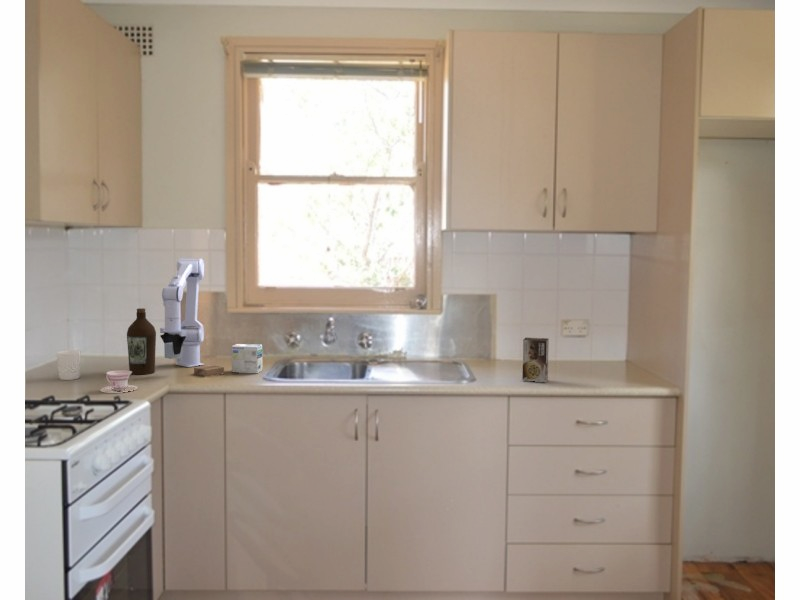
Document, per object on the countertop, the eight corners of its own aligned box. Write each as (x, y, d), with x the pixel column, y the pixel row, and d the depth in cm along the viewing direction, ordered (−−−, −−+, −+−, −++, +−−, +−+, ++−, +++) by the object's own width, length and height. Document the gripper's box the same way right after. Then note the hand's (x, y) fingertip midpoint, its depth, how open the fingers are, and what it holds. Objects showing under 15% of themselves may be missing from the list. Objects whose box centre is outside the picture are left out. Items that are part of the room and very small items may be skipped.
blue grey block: (164, 357, 267) (164, 343, 267) (175, 356, 271) (174, 342, 270) (171, 358, 264) (171, 344, 264) (181, 357, 268) (181, 343, 267)
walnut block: (194, 375, 272) (193, 367, 271) (211, 372, 278) (211, 364, 278) (206, 377, 267) (206, 370, 266) (223, 374, 273) (223, 367, 273)
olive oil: (135, 369, 279) (133, 307, 277) (161, 370, 278) (159, 307, 276) (122, 374, 268) (121, 309, 266) (149, 375, 268) (148, 310, 266)
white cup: (76, 375, 266) (75, 349, 265) (84, 378, 261) (83, 352, 260) (54, 378, 261) (53, 351, 260) (62, 381, 255) (61, 354, 254)
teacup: (144, 387, 247) (144, 370, 247) (125, 394, 235) (125, 376, 235) (113, 385, 249) (112, 368, 249) (92, 393, 237) (92, 375, 237)
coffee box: (548, 380, 268) (549, 338, 267) (545, 383, 262) (547, 340, 261) (524, 378, 271) (525, 336, 270) (521, 381, 265) (522, 339, 264)
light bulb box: (263, 370, 280) (262, 344, 280) (257, 373, 274) (257, 346, 273) (237, 369, 282) (236, 343, 281) (231, 373, 275) (231, 345, 274)
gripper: (152, 317, 268) (153, 352, 269) (174, 320, 259) (174, 356, 260) (169, 315, 273) (169, 350, 274) (190, 318, 264) (191, 354, 265)
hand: (173, 353), depth 267 cm, fingers closed on blue grey block, 4 cm apart
